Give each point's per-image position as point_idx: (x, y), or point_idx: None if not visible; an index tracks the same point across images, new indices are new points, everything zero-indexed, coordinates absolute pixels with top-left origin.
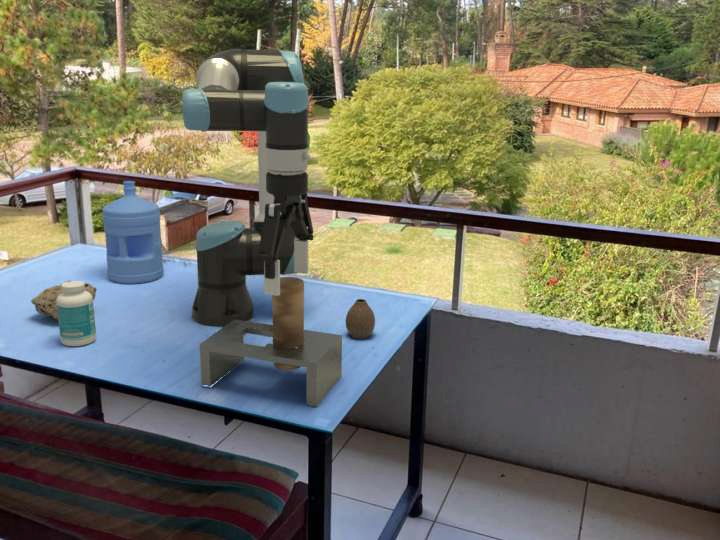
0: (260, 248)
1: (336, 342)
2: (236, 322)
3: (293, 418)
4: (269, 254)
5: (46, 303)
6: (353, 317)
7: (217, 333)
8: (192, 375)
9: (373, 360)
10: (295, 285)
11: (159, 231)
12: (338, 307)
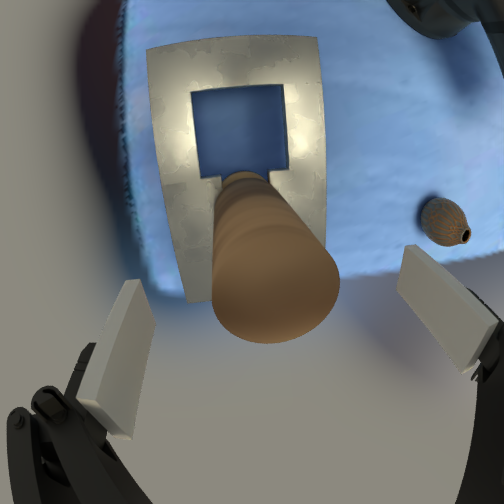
0: (13, 457)
1: None
2: (302, 48)
3: (151, 249)
4: (45, 461)
5: None
6: (439, 223)
7: (219, 42)
8: (196, 32)
9: (362, 263)
10: (248, 336)
11: None
12: (489, 153)
